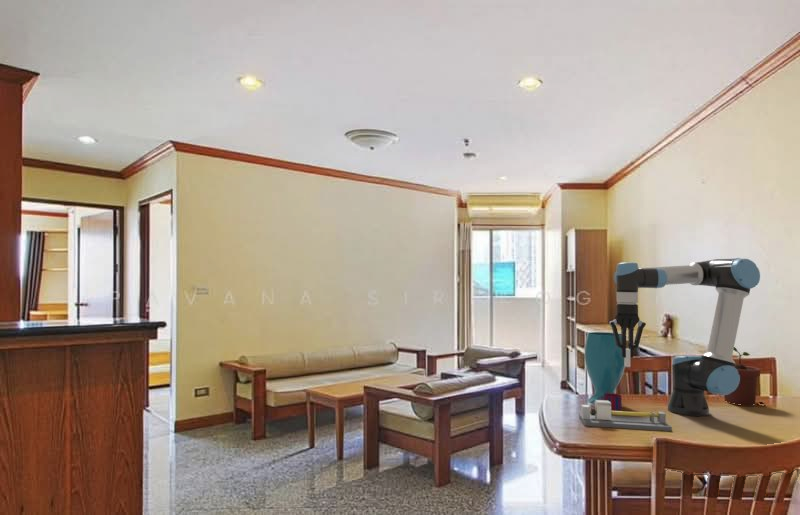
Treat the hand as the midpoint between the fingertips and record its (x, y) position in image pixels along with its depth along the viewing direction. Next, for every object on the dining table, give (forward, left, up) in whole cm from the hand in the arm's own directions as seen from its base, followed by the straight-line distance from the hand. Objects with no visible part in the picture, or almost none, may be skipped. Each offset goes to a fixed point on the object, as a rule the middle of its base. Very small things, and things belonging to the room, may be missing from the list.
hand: (627, 366), depth 204 cm
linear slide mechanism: (+1, 0, -22) cm, 22 cm away
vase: (0, -37, -22) cm, 43 cm away
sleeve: (+9, 0, -20) cm, 22 cm away
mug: (+2, -19, -22) cm, 29 cm away
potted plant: (-63, -53, -22) cm, 85 cm away
